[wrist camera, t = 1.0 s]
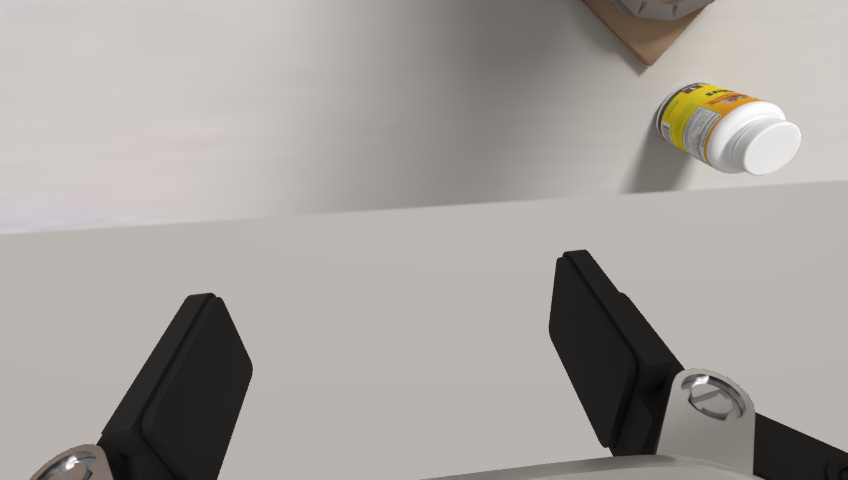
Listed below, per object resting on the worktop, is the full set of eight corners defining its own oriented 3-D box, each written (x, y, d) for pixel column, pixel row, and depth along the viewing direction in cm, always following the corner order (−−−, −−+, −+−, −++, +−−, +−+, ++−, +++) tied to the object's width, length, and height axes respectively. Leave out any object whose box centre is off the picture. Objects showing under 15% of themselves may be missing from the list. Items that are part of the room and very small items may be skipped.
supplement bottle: (726, 90, 36) (832, 123, 28) (688, 147, 39) (774, 194, 31) (676, 72, 35) (770, 101, 27) (641, 133, 38) (716, 176, 29)
